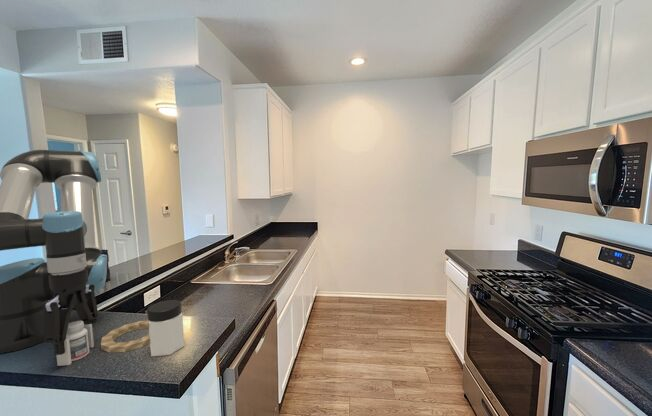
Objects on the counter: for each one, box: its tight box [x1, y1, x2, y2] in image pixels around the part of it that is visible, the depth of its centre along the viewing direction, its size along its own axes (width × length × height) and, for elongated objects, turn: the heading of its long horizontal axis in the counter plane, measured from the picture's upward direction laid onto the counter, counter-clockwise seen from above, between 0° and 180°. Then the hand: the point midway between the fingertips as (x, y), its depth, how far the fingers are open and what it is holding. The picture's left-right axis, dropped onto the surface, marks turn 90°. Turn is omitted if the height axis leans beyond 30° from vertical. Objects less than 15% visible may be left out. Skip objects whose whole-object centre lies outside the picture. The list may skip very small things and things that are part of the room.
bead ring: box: [100, 320, 150, 354], centre depth 84 cm, size 15×15×2 cm
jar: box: [146, 299, 185, 357], centre depth 78 cm, size 9×8×12 cm
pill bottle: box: [66, 320, 90, 362], centre depth 75 cm, size 5×5×9 cm
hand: (76, 355), depth 75 cm, fingers open, 7 cm apart
